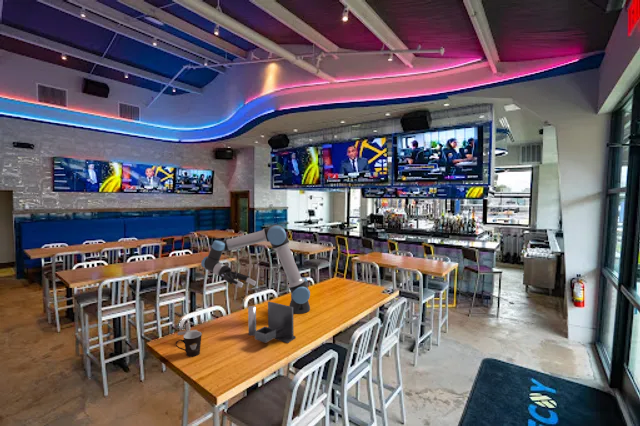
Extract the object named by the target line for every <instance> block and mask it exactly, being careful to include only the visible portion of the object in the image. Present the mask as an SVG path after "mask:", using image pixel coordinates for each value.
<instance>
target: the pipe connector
mask: <svg viewBox="0 0 640 426" xmlns="http://www.w3.org/2000/svg"><path fill="white" fill-rule="evenodd" d="M193 331H198V329H191V327H190V323H189V322H187V323H185V330H184V331H177V336H184V335H185V334H186V333H189V332H193Z"/></svg>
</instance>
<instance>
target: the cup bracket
mask: <svg viewBox="0 0 640 426" xmlns="http://www.w3.org/2000/svg"><path fill="white" fill-rule="evenodd" d="M267 322H268V323H267V326H263V327H261V328H259V329H256V331H255V335H254V340H256V341H259V342H262V343H265V344H266V343H268V342H270V341H272V340H273V339H274V340H276V341H280V342H283V343H286V344H289V343H291V342H292V341H294V340H296V337H297V336H295V335H294V331H295V330H294V313H293V307H290V306H289V305H285V304H281V303H279V302H278V303H276V302H272V301H268V302H267Z"/></svg>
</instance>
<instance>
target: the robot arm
mask: <svg viewBox="0 0 640 426" xmlns="http://www.w3.org/2000/svg"><path fill="white" fill-rule="evenodd" d="M262 242H263V243H264V242H266V243H268V242H269V243H270V246H271V248H272V250H274V251H276V254H277V256H278V259H279V261H280V263H281V266H282V268H283V271H284V273H285V276H286V277H287V281H288V283H289V284H288V286H287V287H288V289H289V291H290V298H291V299H290V302H289V305H288V306H290V307H293V314H297V315H299V314H301V315H302V314H306V313H308V312H310V311H311V306H310V305H311V304H310V302H309V300H310V296H311V291H310V288H309V287H308V279H307V277H302V276H301V273H300V271H299V268H298V266H297V264H296V260H295V258H294V256H293V254H292V251H291V249H290V247H289V244H290V240H289V238H288V236H287V233H286V230H285V228H284V226H282V225H281V224H273V225H270V226H268V227H265V228H263V229H262V230H258V231H256V232H255V231H254V232H252V233H251V232H250V233H247V234H243V235H239V236H237V237H232V238H229V239H225V240H216V239H215V240H214V241H213V242H212V244H211V248H210V250H209V252H208V255H207V256H204V257H203V259H202V260H201V263H200V264H201V267H203V269H205V270H207V271H209V272H211V273H213V274H214V275H216V276H219V277H221V279H224V280H225V282H227V283H228V284H230V285H232V284H233V285H235V286H237V287H238V288H243V286H244V283H243V282H244V281H245V282H246V283H248V284H250V285H252V286H254V287H255V286H256V284H257V280H254V279H252V278H250V276H249V275H245V274H242V273H239V272H237V271H235V272H234V271H232V268H231V267H229V266H227V264H224V263H222V262H220V260H221V257H222V254H224V253H225V252H229V251H232V250H236V249H239V248H244V247H249V246H251V245H255V244H260V243H262ZM241 280H242V281H243V282H242V281H241Z"/></svg>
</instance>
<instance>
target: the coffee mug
mask: <svg viewBox="0 0 640 426" xmlns="http://www.w3.org/2000/svg"><path fill="white" fill-rule="evenodd" d="M202 337H203V335H202V332H201V331H198V330H197V331H193V332H189V333H186V334H185V335H183V339H178V340H176V342H175V347H176V348H177V349H178V350H182V351H184V352H185V355H186V357H188V358H194V357H198V356H199V355H200V353H201V346H202V345H201V344H202ZM178 342H183V344H184V347H179V345H177V344H178Z"/></svg>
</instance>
